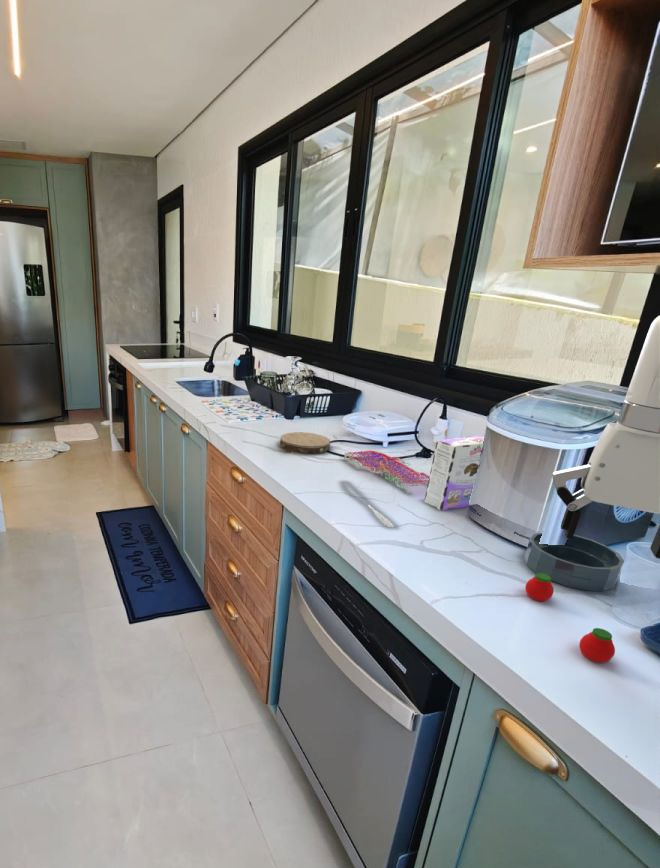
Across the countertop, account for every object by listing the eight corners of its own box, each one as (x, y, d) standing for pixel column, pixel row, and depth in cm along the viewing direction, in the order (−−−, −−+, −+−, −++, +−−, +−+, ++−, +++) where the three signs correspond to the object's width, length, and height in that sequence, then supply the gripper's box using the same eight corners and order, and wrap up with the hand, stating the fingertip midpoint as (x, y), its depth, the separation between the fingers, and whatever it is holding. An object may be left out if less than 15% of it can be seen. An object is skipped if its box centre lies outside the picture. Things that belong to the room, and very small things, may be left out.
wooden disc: (269, 445, 165) (270, 436, 164) (303, 438, 174) (304, 429, 173) (305, 458, 154) (306, 449, 152) (339, 450, 163) (340, 441, 161)
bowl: (601, 563, 98) (610, 540, 96) (625, 601, 86) (635, 576, 84) (519, 548, 103) (525, 526, 101) (530, 582, 91) (537, 557, 89)
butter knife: (383, 527, 109) (396, 526, 109) (338, 483, 134) (349, 482, 134) (382, 529, 109) (396, 528, 109) (338, 485, 134) (349, 484, 134)
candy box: (465, 496, 128) (480, 434, 122) (484, 505, 123) (501, 441, 117) (422, 502, 124) (435, 438, 118) (440, 512, 119) (455, 445, 113)
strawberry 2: (605, 654, 73) (615, 628, 71) (613, 672, 70) (624, 645, 68) (572, 646, 74) (582, 621, 73) (579, 663, 71) (589, 637, 69)
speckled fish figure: (448, 494, 129) (452, 475, 127) (396, 498, 126) (400, 478, 124) (385, 458, 156) (387, 441, 154) (340, 460, 153) (342, 443, 151)
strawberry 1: (538, 592, 88) (545, 569, 86) (555, 605, 84) (563, 582, 83) (517, 593, 87) (524, 570, 86) (533, 606, 84) (541, 583, 82)
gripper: (741, 425, 60) (685, 550, 67) (570, 404, 68) (535, 518, 75) (766, 439, 54) (702, 575, 61) (575, 415, 62) (536, 538, 68)
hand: (610, 544), depth 68 cm, fingers open, 9 cm apart
